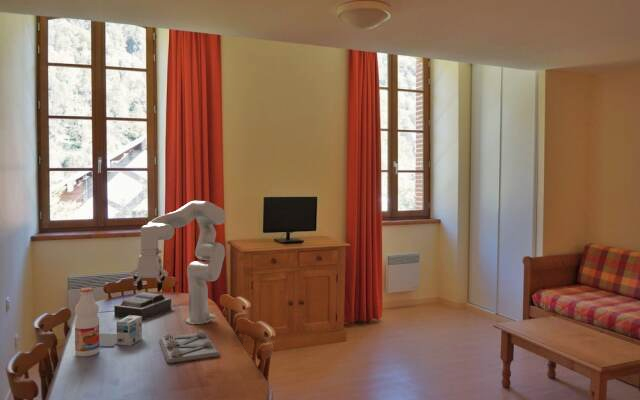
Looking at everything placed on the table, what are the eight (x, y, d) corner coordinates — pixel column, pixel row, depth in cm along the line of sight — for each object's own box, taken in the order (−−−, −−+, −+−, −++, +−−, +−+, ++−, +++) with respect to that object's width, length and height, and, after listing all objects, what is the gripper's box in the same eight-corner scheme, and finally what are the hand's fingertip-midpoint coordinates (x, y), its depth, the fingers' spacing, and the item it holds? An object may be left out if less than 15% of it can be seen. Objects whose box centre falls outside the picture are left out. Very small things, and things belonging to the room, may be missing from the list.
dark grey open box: (177, 311, 273) (177, 293, 273) (136, 323, 251) (136, 304, 250) (150, 304, 286) (150, 288, 285) (108, 315, 263) (108, 297, 263)
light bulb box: (129, 346, 216) (129, 322, 216) (116, 345, 217) (115, 321, 217) (142, 338, 227) (142, 315, 226) (129, 337, 228) (129, 314, 227)
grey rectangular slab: (220, 358, 204) (220, 341, 204) (167, 366, 195) (167, 348, 195) (206, 336, 232) (206, 322, 231) (159, 342, 223) (158, 327, 222)
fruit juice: (86, 348, 213) (86, 285, 212) (104, 350, 210) (103, 287, 209) (70, 355, 204) (69, 290, 203) (88, 358, 201) (87, 291, 200)
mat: (129, 335, 230) (129, 334, 230) (112, 347, 214) (112, 346, 214) (100, 334, 231) (100, 333, 231) (82, 346, 215) (82, 345, 215)
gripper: (171, 251, 223) (171, 288, 224) (134, 250, 224) (134, 287, 225) (165, 254, 215) (165, 292, 216) (127, 253, 216) (127, 291, 217)
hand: (149, 290), depth 220 cm, fingers open, 8 cm apart
